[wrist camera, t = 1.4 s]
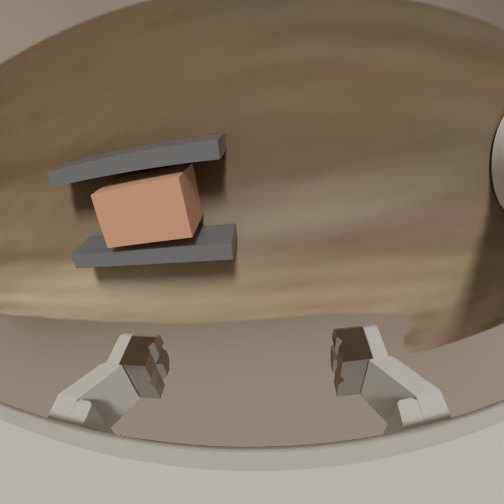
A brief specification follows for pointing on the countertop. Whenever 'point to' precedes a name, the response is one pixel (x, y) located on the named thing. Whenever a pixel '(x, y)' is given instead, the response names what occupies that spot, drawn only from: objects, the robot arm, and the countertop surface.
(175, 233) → the block
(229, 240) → the channel
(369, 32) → the countertop surface
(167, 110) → the countertop surface
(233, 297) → the countertop surface
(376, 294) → the countertop surface
